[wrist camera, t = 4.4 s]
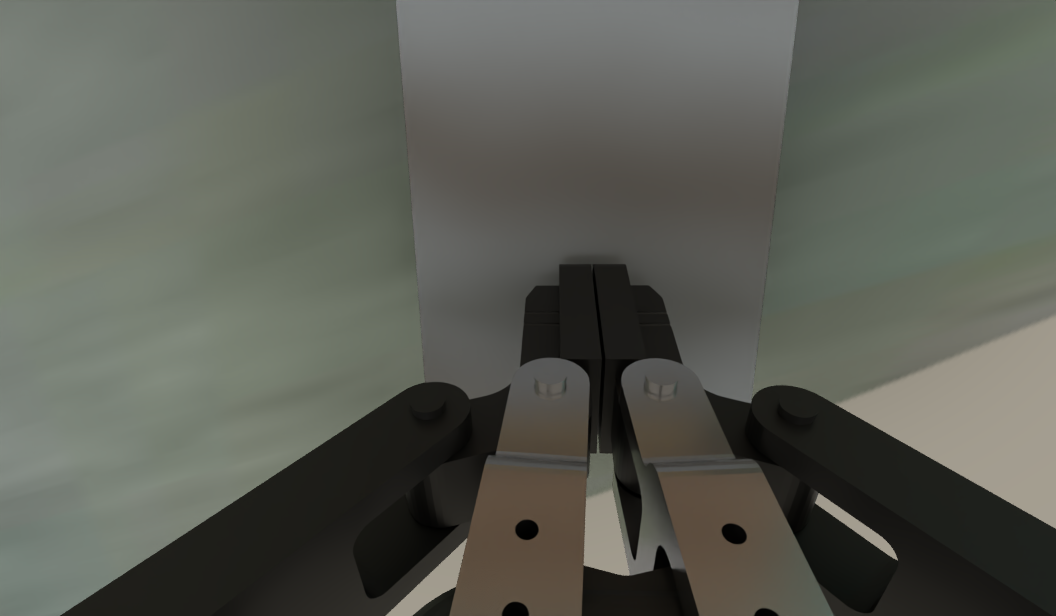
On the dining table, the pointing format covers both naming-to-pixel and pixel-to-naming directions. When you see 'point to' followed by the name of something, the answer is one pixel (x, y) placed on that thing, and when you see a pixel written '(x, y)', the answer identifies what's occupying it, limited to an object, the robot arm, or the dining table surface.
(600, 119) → the grey flat plate
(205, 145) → the dining table surface
